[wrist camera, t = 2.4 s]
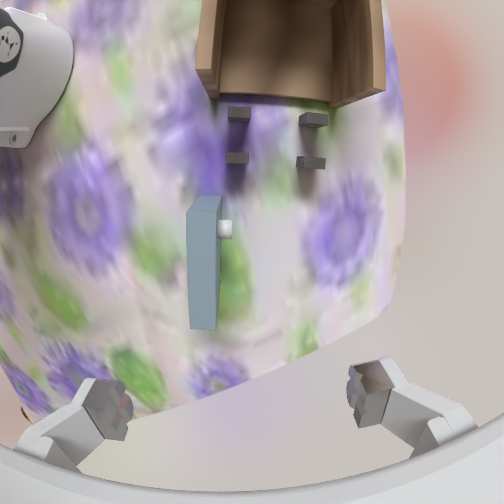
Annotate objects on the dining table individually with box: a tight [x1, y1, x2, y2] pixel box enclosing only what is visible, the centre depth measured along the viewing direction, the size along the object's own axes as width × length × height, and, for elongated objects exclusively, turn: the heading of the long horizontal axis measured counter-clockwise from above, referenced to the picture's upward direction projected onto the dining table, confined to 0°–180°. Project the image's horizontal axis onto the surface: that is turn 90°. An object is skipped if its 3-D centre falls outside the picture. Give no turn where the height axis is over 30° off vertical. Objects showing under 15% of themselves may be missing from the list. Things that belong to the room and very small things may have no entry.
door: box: [186, 195, 233, 330], centre depth 27 cm, size 10×3×9 cm, turn 177°
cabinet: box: [195, 0, 386, 169], centre depth 21 cm, size 13×20×11 cm, turn 177°
